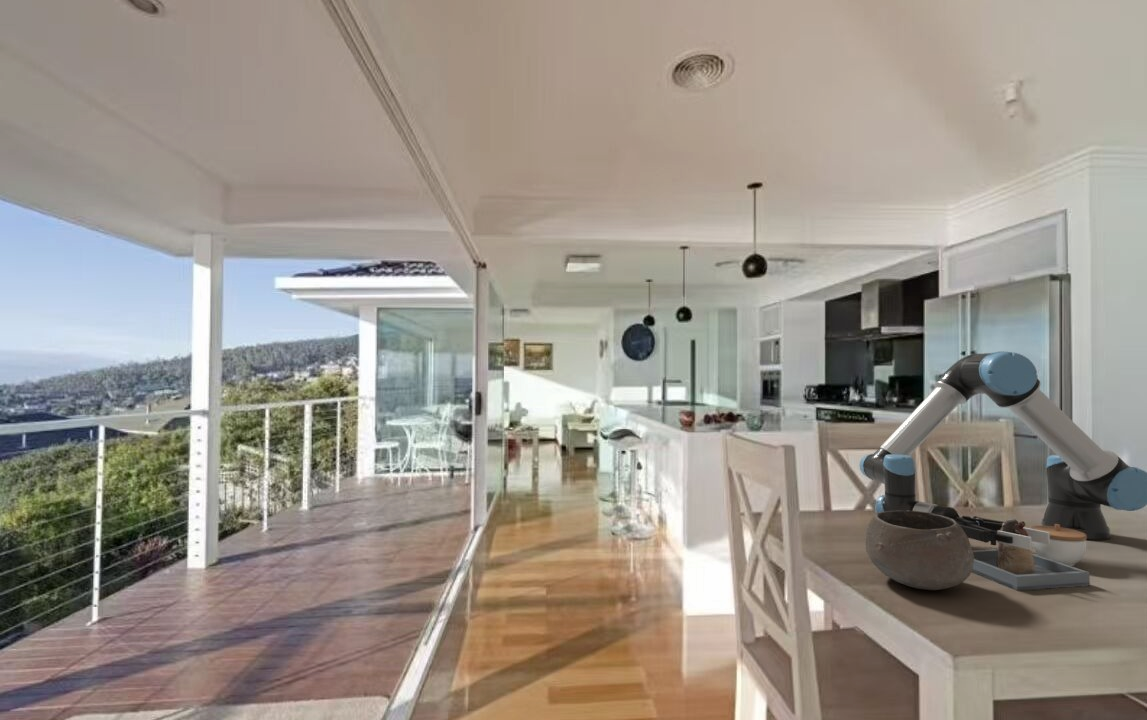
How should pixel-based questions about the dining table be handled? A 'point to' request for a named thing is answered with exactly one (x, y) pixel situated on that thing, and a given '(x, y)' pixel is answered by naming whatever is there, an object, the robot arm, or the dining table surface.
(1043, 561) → the tray
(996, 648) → the dining table surface
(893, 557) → the clay pot
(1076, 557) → the lidded jar
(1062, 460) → the robot arm
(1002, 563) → the figurine
